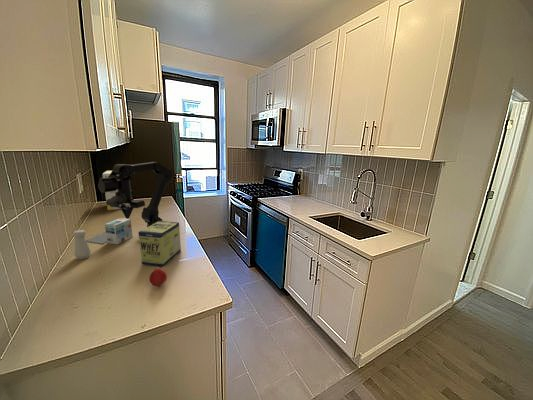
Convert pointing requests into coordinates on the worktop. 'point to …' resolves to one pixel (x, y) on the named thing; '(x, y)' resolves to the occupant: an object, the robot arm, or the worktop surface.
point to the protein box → (159, 243)
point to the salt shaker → (81, 245)
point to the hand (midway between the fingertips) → (127, 218)
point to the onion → (158, 277)
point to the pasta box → (109, 194)
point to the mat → (98, 239)
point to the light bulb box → (118, 231)
